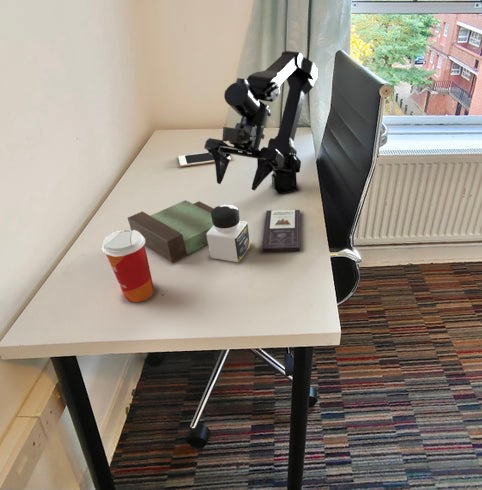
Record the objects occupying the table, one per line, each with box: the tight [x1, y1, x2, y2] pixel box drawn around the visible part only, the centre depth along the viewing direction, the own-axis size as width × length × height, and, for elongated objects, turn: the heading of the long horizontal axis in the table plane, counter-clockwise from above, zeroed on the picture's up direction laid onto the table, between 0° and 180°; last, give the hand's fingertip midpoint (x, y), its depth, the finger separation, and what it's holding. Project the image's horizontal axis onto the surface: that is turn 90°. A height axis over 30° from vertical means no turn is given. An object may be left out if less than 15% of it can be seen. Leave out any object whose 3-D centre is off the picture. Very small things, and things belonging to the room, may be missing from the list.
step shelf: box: [127, 199, 215, 264], centre depth 110 cm, size 20×16×6 cm
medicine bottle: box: [206, 204, 251, 263], centre depth 102 cm, size 7×7×12 cm
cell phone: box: [178, 151, 231, 168], centre depth 148 cm, size 8×16×1 cm, turn 113°
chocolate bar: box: [261, 209, 301, 253], centre depth 114 cm, size 9×1×18 cm
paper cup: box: [101, 229, 155, 303], centre depth 89 cm, size 8×8×14 cm
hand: (235, 186), depth 105 cm, fingers open, 9 cm apart
